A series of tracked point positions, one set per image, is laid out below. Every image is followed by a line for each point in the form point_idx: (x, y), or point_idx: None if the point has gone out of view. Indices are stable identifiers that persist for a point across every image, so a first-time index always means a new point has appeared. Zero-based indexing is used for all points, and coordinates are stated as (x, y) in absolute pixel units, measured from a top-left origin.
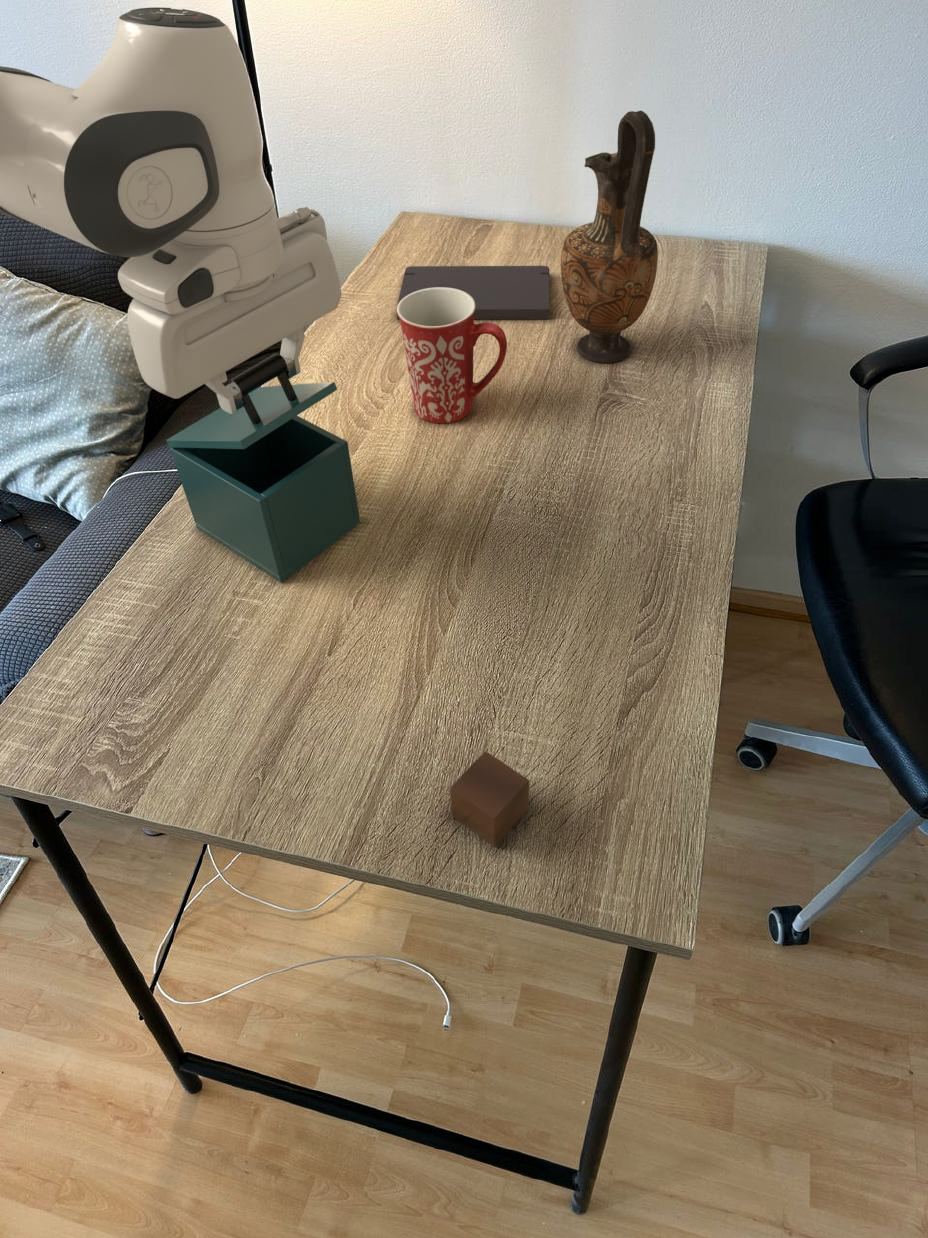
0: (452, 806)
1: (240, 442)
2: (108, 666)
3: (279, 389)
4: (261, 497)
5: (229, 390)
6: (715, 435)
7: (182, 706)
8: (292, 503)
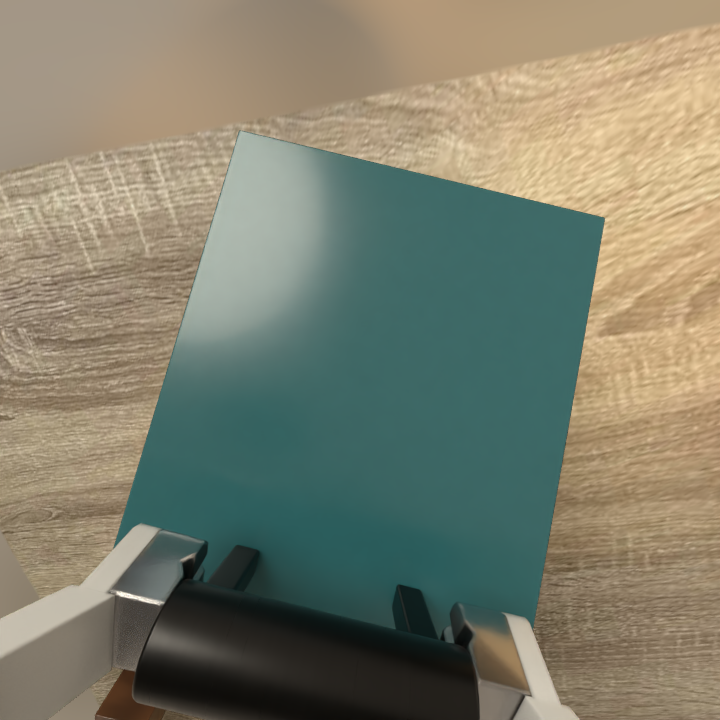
0: (116, 681)
1: None
2: (36, 267)
3: (537, 409)
4: None
5: (61, 707)
6: None
7: (58, 396)
8: None
